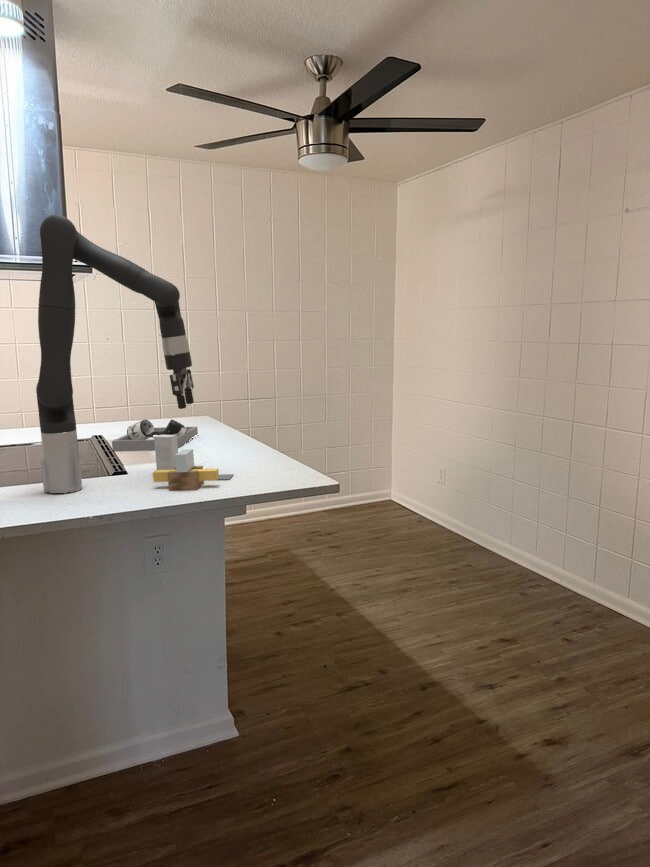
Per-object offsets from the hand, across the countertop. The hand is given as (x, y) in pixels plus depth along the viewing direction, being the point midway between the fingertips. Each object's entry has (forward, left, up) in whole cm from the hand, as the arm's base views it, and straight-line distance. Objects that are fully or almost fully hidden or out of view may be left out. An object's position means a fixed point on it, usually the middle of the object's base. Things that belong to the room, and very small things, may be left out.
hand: (186, 406), depth 179 cm
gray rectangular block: (+2, -12, -17) cm, 21 cm away
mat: (+2, -2, -22) cm, 22 cm away
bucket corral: (-30, +62, -22) cm, 73 cm away
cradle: (+2, -12, -22) cm, 25 cm away
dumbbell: (-30, +62, -22) cm, 73 cm away
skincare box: (-9, +7, -22) cm, 25 cm away
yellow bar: (+2, -13, -20) cm, 23 cm away
